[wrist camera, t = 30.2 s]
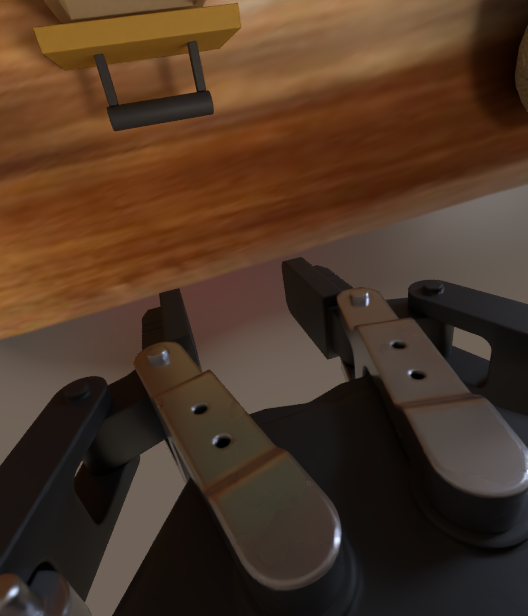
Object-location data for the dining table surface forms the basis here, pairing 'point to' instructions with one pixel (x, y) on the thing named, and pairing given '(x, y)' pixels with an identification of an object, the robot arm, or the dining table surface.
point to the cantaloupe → (522, 70)
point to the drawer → (138, 47)
